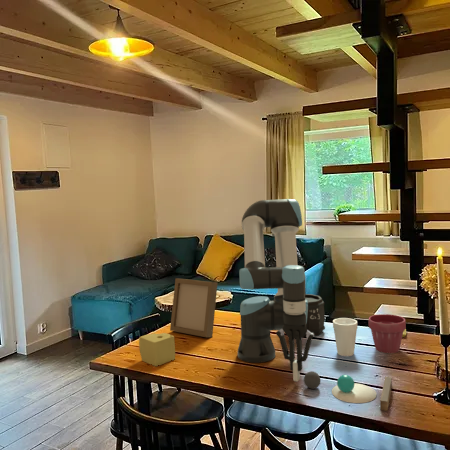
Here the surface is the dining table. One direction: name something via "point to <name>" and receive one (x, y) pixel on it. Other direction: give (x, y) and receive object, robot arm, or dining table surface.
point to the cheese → (157, 348)
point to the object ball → (345, 383)
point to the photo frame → (194, 307)
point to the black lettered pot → (315, 314)
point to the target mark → (355, 394)
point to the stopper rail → (386, 394)
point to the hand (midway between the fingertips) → (296, 379)
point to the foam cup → (345, 335)
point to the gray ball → (312, 380)
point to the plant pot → (387, 332)
